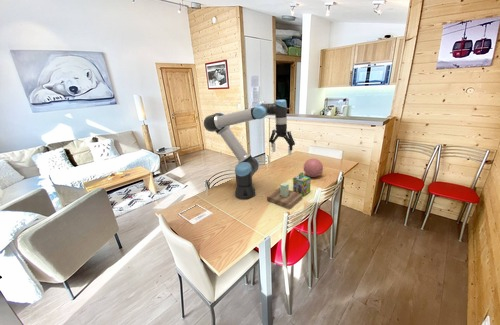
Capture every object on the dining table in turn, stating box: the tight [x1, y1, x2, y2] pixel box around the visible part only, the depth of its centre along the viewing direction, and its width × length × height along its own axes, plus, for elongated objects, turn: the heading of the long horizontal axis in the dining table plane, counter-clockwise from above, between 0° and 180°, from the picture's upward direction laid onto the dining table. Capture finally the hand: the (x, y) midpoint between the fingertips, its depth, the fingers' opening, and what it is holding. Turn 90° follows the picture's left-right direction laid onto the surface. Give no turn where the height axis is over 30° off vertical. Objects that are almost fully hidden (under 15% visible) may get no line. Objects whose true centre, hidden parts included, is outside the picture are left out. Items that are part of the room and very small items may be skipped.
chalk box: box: [292, 172, 312, 197], centre depth 151 cm, size 9×9×15 cm
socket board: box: [266, 187, 303, 210], centre depth 145 cm, size 18×16×4 cm
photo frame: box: [178, 203, 213, 226], centre depth 137 cm, size 15×1×18 cm
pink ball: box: [303, 158, 324, 178], centre depth 176 cm, size 15×20×15 cm
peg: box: [279, 182, 290, 198], centre depth 143 cm, size 4×4×12 cm
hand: (281, 153), depth 150 cm, fingers open, 13 cm apart
